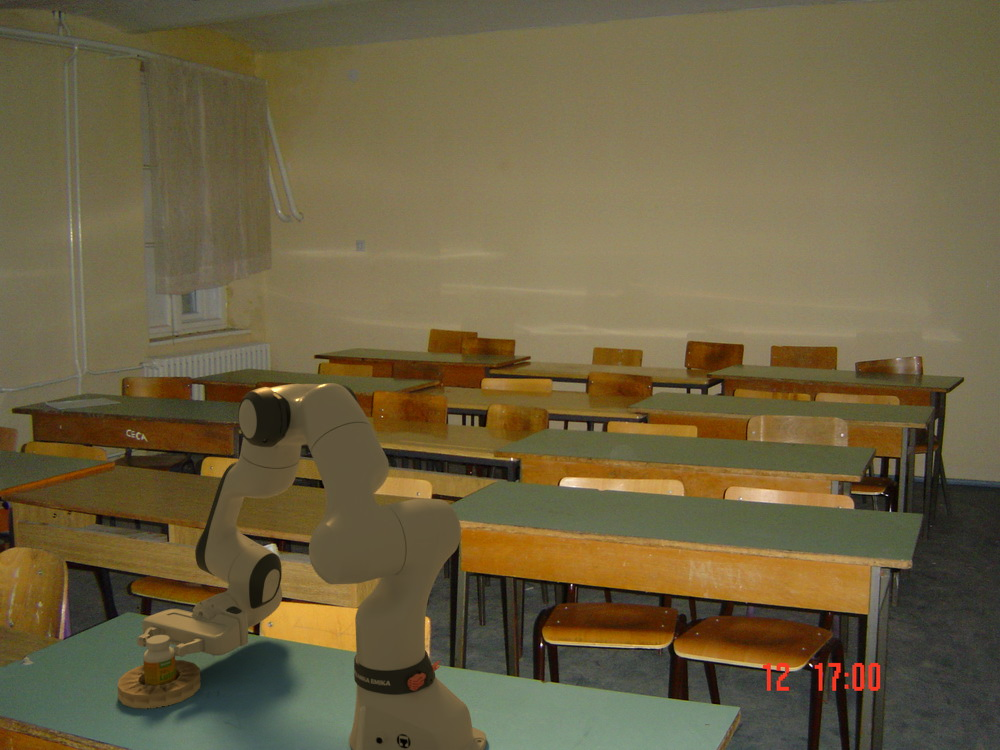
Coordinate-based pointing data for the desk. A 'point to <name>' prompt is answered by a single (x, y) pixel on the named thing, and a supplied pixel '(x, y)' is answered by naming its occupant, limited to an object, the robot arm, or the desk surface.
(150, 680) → the supplement bottle
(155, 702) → the plain brown donut
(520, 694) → the desk surface
